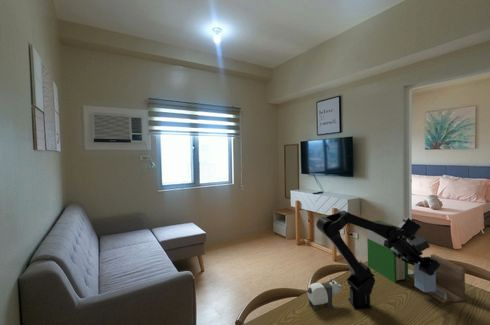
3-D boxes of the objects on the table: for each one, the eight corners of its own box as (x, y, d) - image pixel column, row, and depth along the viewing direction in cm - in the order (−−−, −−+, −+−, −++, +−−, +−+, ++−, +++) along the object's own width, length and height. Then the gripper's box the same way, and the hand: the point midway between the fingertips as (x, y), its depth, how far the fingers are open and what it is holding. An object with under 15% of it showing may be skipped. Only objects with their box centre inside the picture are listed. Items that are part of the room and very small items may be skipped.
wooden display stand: (442, 302, 97) (442, 270, 96) (414, 284, 110) (414, 256, 110) (465, 300, 97) (464, 268, 97) (434, 282, 111) (434, 254, 111)
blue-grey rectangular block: (424, 292, 98) (424, 266, 98) (414, 285, 103) (414, 261, 102) (435, 291, 98) (435, 265, 98) (425, 284, 103) (425, 260, 103)
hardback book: (408, 280, 114) (407, 229, 113) (394, 282, 112) (393, 231, 112) (380, 264, 131) (379, 220, 130) (368, 266, 130) (366, 221, 129)
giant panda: (312, 311, 94) (311, 287, 94) (305, 303, 100) (304, 280, 99) (346, 305, 97) (345, 282, 97) (338, 298, 103) (337, 275, 102)
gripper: (435, 239, 90) (462, 266, 92) (398, 225, 109) (421, 247, 110) (415, 262, 90) (443, 289, 91) (382, 244, 108) (405, 266, 110)
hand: (427, 271), depth 100 cm, fingers closed on blue-grey rectangular block, 5 cm apart
